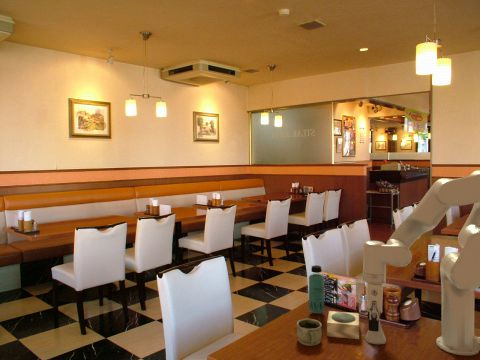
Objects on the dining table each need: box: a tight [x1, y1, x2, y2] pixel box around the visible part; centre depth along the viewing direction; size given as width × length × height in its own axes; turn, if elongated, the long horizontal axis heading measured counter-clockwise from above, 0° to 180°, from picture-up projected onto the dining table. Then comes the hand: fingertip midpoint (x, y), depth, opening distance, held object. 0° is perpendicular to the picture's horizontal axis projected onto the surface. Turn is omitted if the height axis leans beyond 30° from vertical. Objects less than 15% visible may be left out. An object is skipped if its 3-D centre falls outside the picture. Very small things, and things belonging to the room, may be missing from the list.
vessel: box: [296, 318, 323, 347], centre depth 139 cm, size 12×9×6 cm
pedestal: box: [326, 310, 360, 340], centre depth 146 cm, size 11×11×5 cm
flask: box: [364, 311, 387, 345], centre depth 138 cm, size 7×7×10 cm
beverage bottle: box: [308, 264, 326, 314], centre depth 162 cm, size 6×7×20 cm
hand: (372, 324), depth 138 cm, fingers open, 9 cm apart
